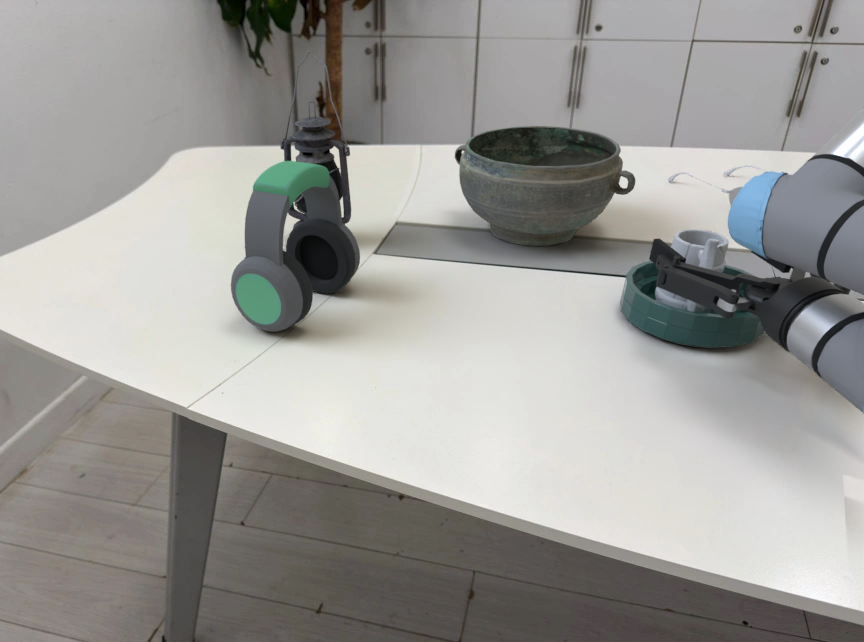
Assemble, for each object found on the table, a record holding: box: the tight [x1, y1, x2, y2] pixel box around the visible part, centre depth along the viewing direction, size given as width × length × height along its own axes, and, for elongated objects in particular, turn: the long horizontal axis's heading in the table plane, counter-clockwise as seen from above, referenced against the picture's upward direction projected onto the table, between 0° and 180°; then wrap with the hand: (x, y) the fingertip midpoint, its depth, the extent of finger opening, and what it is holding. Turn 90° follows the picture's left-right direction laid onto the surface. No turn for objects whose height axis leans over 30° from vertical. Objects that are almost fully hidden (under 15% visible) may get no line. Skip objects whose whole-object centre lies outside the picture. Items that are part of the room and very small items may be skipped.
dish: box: [619, 259, 765, 349], centre depth 88 cm, size 18×18×5 cm
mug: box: [655, 228, 730, 314], centre depth 86 cm, size 8×12×12 cm, turn 165°
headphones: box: [230, 160, 361, 333], centre depth 90 cm, size 19×11×20 cm, turn 151°
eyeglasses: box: [667, 164, 769, 206], centre depth 131 cm, size 15×18×4 cm
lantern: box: [279, 49, 352, 229], centre depth 108 cm, size 12×11×30 cm
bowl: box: [454, 125, 636, 247], centre depth 114 cm, size 32×26×15 cm
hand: (705, 245), depth 85 cm, fingers open, 13 cm apart
